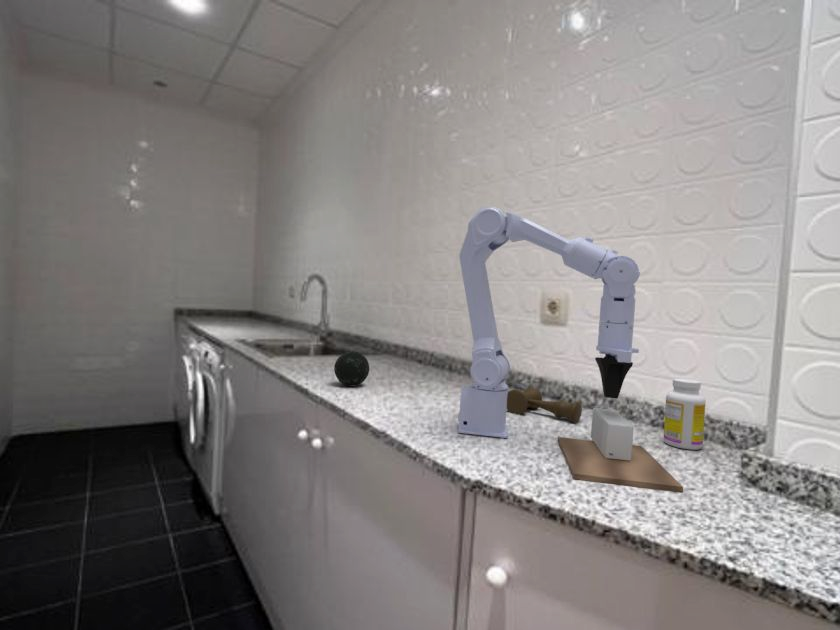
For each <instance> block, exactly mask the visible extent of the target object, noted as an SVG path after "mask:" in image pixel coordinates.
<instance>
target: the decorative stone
mask: <svg viewBox="0 0 840 630" xmlns="http://www.w3.org/2000/svg"><path fill="white" fill-rule="evenodd" d="M333 367H334V371H333V372H334V375H335V377H336V379H337V380H338V382H339V383H341V384H343V385H345V386H348V385H356V386H359V385H360V384H362V383H363V382H365V381H366V379H367V378H368V376H369V373H370V363H369V360H368V359H367V357H366V356H365V355H364V354H362V353H361V352H359V351H355V350H351V351H350V350H349V351H346V352H343V353H342V354H340V355H339V356H338V358H337V359H336V361H335V363H334V366H333Z"/></svg>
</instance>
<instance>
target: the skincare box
mask: <svg viewBox="0 0 840 630" xmlns="http://www.w3.org/2000/svg"><path fill="white" fill-rule="evenodd" d="M591 419H592V420H591V430H590V439H591V441H594V443H595V444H596V446H597V447H598V448H599V450H600V451H601V453H602V454H603V456H604V457H605V458H607V459H618V460H627V461H631V454H632V445H633V438H634V437H633V436H634V426H633V424H631V423H630V422H629V421H628V420H627V419H626V418H625V417H624V416H622V415H621V414H620V413H619V412H618V411H617V410H616V409H608V408H599V407H593V408H592V418H591Z"/></svg>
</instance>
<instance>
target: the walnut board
mask: <svg viewBox="0 0 840 630" xmlns="http://www.w3.org/2000/svg"><path fill="white" fill-rule="evenodd" d="M557 443H558V445H559V448H560V451H561V452H562V454H563V457H564V459H565V462H566V464H567V467H568V469H569V471H570V473H571V476H572V478H573V480H581V481H589V482H595V483H602V484H603V483H604V484H605V483H606V484H611V485H612V484H613V485H619V486H628V487H635V488H636V487H637V488H643V489H644V488H645V489H651V490H653V489H654V490H659V491H660V490H661V491H668V492H676V493H683V492H684V486H683V485H682V484H681V483H680V482H679V481H678V480H677V479H676V478H675V477H674V476H673V475H672V474H671V473H670V472H668V471H667V469H665V468H664V466H663V465H661V464H660V463H659V462H658V461H657V459H656V458H654V457H653V456H652V454H650V453H649V451H647V450H646V449H645V447H643V446H642V445H637V444H632V454H631V461H627V460H618V459H607V458H605V457H604V456H603V454H602V453H601V451H600V450H599V448H598V447H597V446H596V444H595V443H594V441H593V440H592V439H591V440H589V439H582V438H581V439H580V438H570V437H562V436H557Z"/></svg>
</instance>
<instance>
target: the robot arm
mask: <svg viewBox="0 0 840 630" xmlns="http://www.w3.org/2000/svg"><path fill="white" fill-rule="evenodd" d="M503 212H504V213H505V215H506V216H505V215H504V213H503ZM503 212H502V210H501V209H499V208H498V207H495V206H484V207H483V208H480V209H479V210H478V211H477V212H476V213H475V214H474V215H473V216H472V218H471V219H470V220H469V221H468V224H467V225H468V226H467V232H466V234H465V237H464V240H463V243H462V247H461V249H460V252H459V263H460V268H461V274H462V282H463V286H464V293H465V299H466V304H467V309H468V317H469V322H470V328H471V334H472V339H473V342H472V343H473V345H472V349H471V354H472V355H471V356H472V362H471V363H472V364H471V366H470V369H469V373H470V378H471V380H472V381H473V382H471V384H470V385H462V386H461V390H460V398H459V399H460V401H459V412H458V417H457V419H458V421H457V422H458V429H457V432H458V433H459V434H464V435H465V434H467V435H473V436H474V435H475V436H476V435H477V436H483V437H484V436H485V437H491V438H492V437H495V438H504V439H507V438H508V437H509V435H508V425H507V411H508V410H507V395H508V392H509V385H508V384H507V383H506V380H505V379H507V378H508V376H509V374H510V372H511V364H510V360H509V359H508V358H507V356H506V354H504V350H503V346H502V343H501V341H500V339H499V336H498V330H497V323H496V318H495V317H496V316H495V312H494V306H493V305H494V304H493V301H492V294H491V289H490V283H489V277H488V272H487V266H486V262H487V261H488V259H489V258H490V256H492V254H494V252H495V251H496V250H497V249H499V248H500V247H502V246H504V245H505V244H506V243H508V241H511V242H512V243H517V242H520V241H527V242H529V243H532V244H534V245H536V246H538V247H541V248H543V249H545V250H547V251H550V252H552V253H555V254H557V255H559V256H561V258H562V262H563V264H564V266H566V267H568V268H570V269H572V270H575V271H577V272H579V273H581V274H583V275H585V276H588V277H590V278H591V279H594V280H598V279H601V281H602V283H603V290H602V296H601V297H600V307H599V308H600V309H599V322H598V339H597V345H596V348H595V350H596V351H598V352H599V354H600V355H605V356H604V357H598V356H597V357H595V358H594V359H595V362H596V365H597V367H598V370H599V372H600V373H599V374H600V378H601V385H602V393H603V396H604V397H605V398H607V399H608V398H609V399H619V395H620V393H621V390H622V386H623V383H624V381H625V379H626V376H627V374H628V372H629V371H630V370H631V368H632V367H633V364H634V363H633V361H632V357H633V353H635V354H636V353H637V354H639V353H640V351H639V350H640V349H639V348H635V347H634V348H633V337H634V321H635V311H636V298H635V295H636V285H635V284H636V283H637V281H638V280H639V278H640V275H641V273H640V271H639V270H640V269H639V266H638V264H637V263H636V261H635V260H633V258H631V257H629V256H625V255H620V256H618V253H619V252H618V250H616V249H612V250H609V249H607V248H605V247H603V246H601V245H598V244H595V243H593V242H594V239H593V238H591V237H588V236H585V238H582V237H580V236H578V237H576V238H574V239H568V238H566V237H563V236H561V235H559V234H558V233H555V232H554V231H551V230H549V229H547V228H545V227H543V226H541V225H539V224H538V223H535V222H533V221H531V220H529V219H527V218H525V217H522V216H521V215H517V214H515V213H513V212H510V211H506V210H504V211H503Z"/></svg>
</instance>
